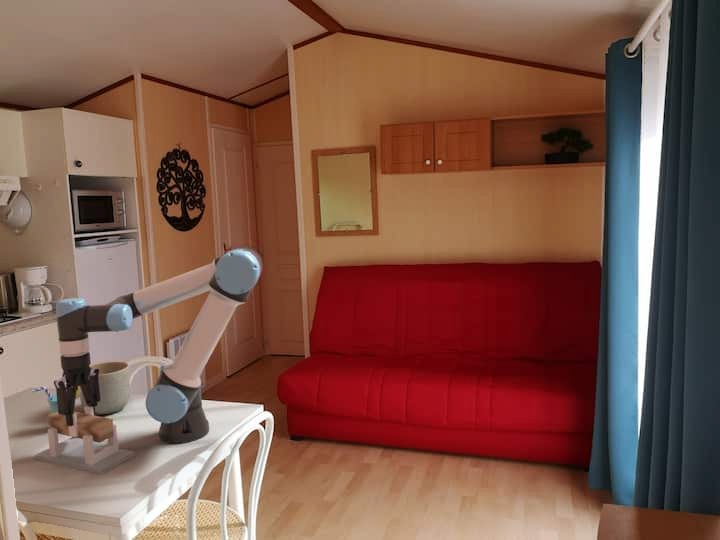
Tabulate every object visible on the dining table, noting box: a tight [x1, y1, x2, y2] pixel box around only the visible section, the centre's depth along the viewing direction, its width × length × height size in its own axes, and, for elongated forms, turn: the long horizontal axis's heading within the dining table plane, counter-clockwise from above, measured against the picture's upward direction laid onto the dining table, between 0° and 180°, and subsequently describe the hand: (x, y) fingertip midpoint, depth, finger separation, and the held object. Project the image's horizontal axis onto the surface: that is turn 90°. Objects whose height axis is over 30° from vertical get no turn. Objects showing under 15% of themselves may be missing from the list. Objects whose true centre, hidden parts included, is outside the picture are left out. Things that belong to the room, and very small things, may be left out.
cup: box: [31, 386, 81, 414], centre depth 190 cm, size 14×8×15 cm, turn 120°
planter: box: [79, 360, 131, 416], centre depth 206 cm, size 17×17×15 cm
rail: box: [47, 411, 114, 444], centre depth 168 cm, size 20×5×5 cm, turn 66°
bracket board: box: [34, 423, 135, 475], centre depth 168 cm, size 26×12×9 cm, turn 66°
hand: (82, 431), depth 168 cm, fingers closed on rail, 5 cm apart
